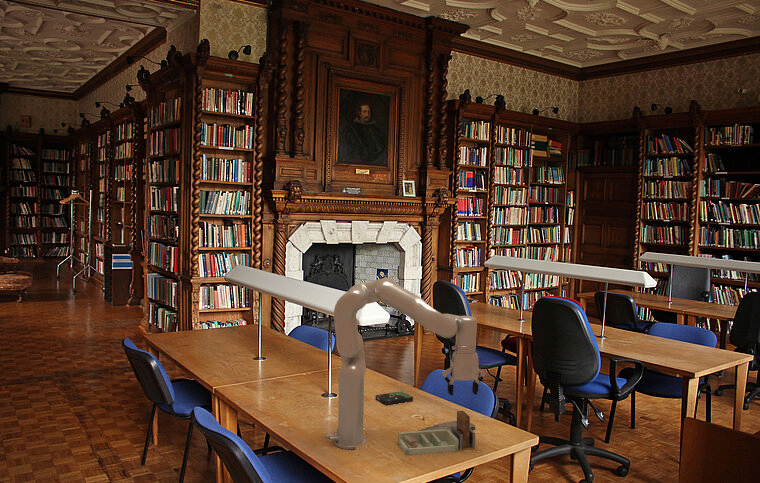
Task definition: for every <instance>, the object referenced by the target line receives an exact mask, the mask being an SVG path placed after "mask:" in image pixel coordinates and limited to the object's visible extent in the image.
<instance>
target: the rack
mask: <svg viewBox="0 0 760 483" xmlns="http://www.w3.org/2000/svg"><path fill="white" fill-rule="evenodd" d="M406 435H412V436H413V437H414V438H415V439H416V440H417V441H418V443H417V446H418V448H408V447H407V446H406V444H405V443H404V438H405V436H406ZM458 441H459V440H458V439H457V438H456V437H455V436H454V435H453V434H452V433H451V431H450V430H449V429H442V430H428V431H418V430H414V431H401V432H398V433H397V445H398V446H399V447H400V449H401V450H402V452H403V453H404V454H405V456H413V455H416V456H417V455H423V454H424V455H427V454H440V453H450V452H452V453H453V452H459V449H458Z"/></svg>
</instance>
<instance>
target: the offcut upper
mask: <svg viewBox="0 0 760 483" xmlns="http://www.w3.org/2000/svg"><path fill="white" fill-rule="evenodd" d="M404 440H405V441H406V442H407V443H408V444H409V445H410V446H416V445H417V443H418V441H417V440H416V439H415V438H414V437H413V436H412V435H406V436H405V438H404Z"/></svg>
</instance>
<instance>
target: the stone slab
mask: <svg viewBox="0 0 760 483" xmlns="http://www.w3.org/2000/svg"><path fill="white" fill-rule="evenodd" d="M452 426H455V427H456V428H457V420H453V421H446V422H442V423H438V424H435V425H431V426H427V427H425V428H421V429H417V431H428V430H442V429H449V430H450V431H452ZM470 429H471V430H472V431H475V430H476V425H475V424H473V423H471V422H470Z"/></svg>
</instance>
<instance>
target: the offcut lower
mask: <svg viewBox="0 0 760 483" xmlns="http://www.w3.org/2000/svg"><path fill="white" fill-rule="evenodd" d="M404 443H405V444H406V446H407V447H408V448H418V446H417V445H416V446H410V445H409V444H408V443H407V442H406V441H405V440H404Z"/></svg>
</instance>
